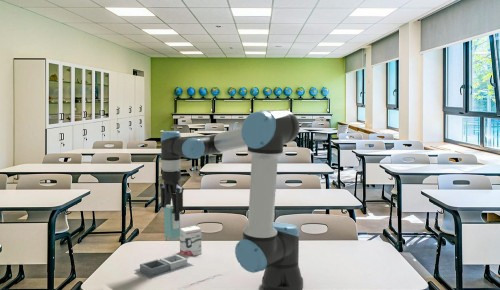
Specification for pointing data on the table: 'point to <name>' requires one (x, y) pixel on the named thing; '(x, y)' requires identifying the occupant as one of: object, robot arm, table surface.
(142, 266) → the panel
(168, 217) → the plug
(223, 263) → the table surface
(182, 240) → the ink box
